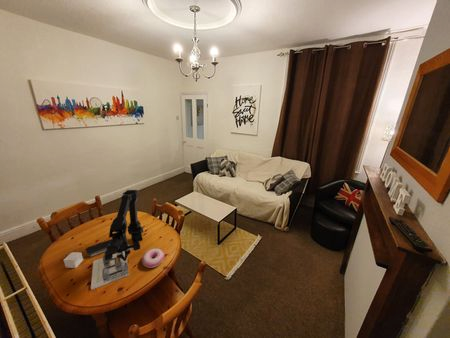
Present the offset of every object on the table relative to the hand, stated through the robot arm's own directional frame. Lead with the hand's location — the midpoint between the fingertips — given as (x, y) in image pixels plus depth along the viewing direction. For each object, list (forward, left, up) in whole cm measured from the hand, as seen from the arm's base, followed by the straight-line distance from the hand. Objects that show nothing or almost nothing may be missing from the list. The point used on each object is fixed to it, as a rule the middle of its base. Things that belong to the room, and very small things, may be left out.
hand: (125, 260), depth 112 cm
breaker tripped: (+4, 0, -1) cm, 4 cm away
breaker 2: (+10, +6, -1) cm, 12 cm away
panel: (+8, 0, -3) cm, 8 cm away
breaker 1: (+10, -6, -1) cm, 12 cm away
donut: (-16, +6, -3) cm, 17 cm away
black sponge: (+13, -21, -3) cm, 25 cm away
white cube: (+27, -15, -3) cm, 31 cm away
